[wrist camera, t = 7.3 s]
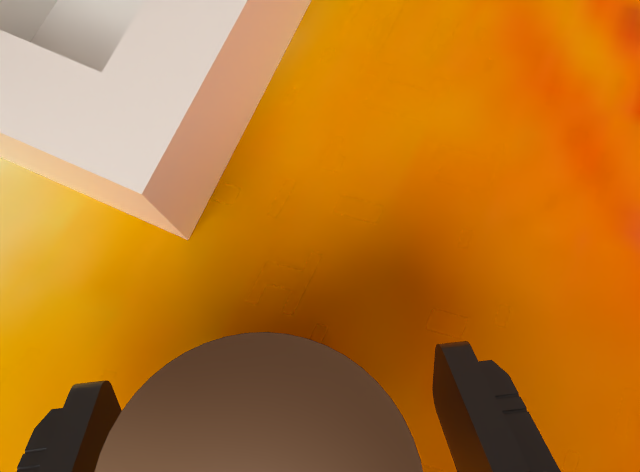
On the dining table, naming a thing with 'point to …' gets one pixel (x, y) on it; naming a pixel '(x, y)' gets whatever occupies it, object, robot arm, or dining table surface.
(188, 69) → the socket
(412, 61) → the dining table surface
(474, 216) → the dining table surface
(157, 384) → the dowel
